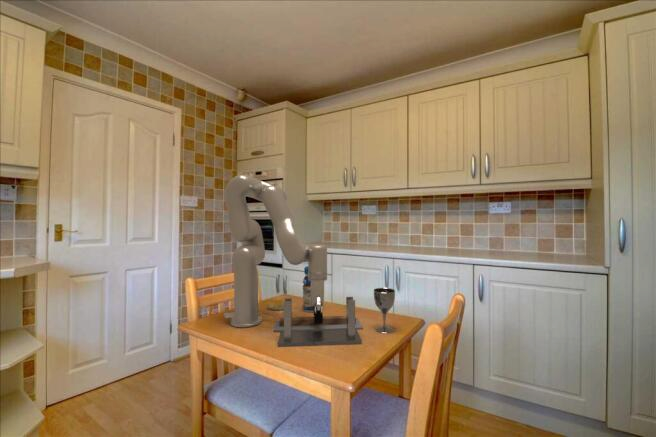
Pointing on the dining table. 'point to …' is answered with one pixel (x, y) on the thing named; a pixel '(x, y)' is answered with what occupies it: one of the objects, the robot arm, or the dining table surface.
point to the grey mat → (316, 327)
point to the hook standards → (319, 336)
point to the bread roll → (276, 305)
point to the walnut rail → (310, 321)
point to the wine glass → (384, 305)
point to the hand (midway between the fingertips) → (317, 319)
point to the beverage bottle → (307, 293)
